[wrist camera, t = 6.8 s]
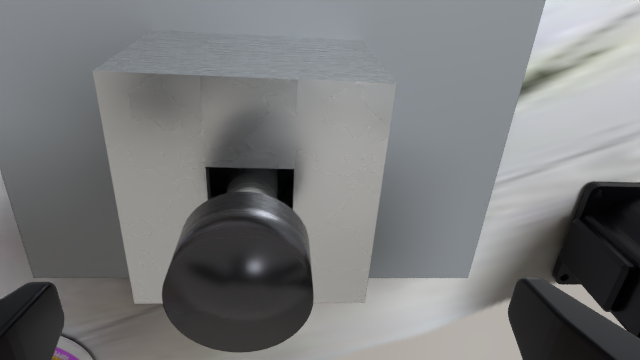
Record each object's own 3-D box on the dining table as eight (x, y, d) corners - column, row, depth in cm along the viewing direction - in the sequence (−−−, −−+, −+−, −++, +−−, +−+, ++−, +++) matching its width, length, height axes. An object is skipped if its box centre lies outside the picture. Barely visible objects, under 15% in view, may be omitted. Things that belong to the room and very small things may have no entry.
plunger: (333, 78, 17) (374, 195, 9) (323, 205, 19) (349, 380, 12) (180, 72, 16) (87, 190, 9) (192, 203, 19) (128, 384, 11)
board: (541, -63, 18) (563, -63, 16) (458, 260, 25) (467, 277, 24) (-56, -107, 16) (-87, -112, 14) (48, 258, 23) (33, 277, 22)
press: (362, 40, 17) (396, 83, 12) (344, 212, 21) (364, 302, 16) (153, 30, 17) (92, 71, 11) (172, 210, 20) (134, 303, 15)
